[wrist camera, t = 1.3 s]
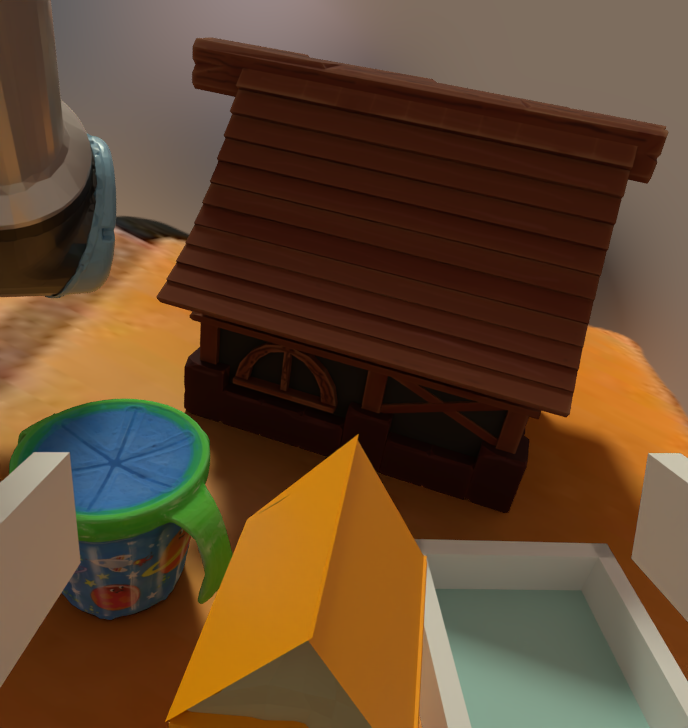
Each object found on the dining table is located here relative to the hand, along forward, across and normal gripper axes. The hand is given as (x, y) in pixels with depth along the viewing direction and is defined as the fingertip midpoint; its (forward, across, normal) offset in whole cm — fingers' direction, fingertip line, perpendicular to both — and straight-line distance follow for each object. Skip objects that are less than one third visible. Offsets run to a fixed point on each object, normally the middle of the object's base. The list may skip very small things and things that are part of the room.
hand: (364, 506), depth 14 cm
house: (+44, +3, -12) cm, 46 cm away
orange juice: (+10, -2, -22) cm, 24 cm away
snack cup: (+23, -13, -17) cm, 31 cm away
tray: (+17, +12, -21) cm, 30 cm away
